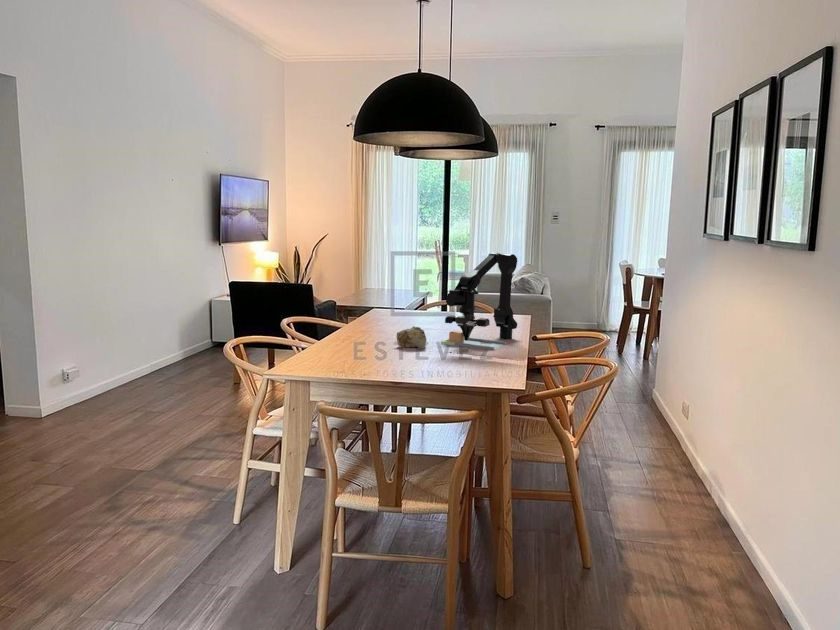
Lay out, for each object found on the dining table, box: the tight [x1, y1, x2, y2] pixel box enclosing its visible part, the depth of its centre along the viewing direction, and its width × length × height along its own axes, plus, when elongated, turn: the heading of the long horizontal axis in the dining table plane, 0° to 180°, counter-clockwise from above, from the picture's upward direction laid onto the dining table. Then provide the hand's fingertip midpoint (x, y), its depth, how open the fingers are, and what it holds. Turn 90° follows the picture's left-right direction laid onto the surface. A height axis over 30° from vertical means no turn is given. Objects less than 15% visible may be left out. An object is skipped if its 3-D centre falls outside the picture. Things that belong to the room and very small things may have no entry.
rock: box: [396, 326, 427, 350], centre depth 268 cm, size 12×7×10 cm, turn 74°
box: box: [440, 336, 506, 351], centre depth 271 cm, size 15×24×3 cm, turn 63°
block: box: [448, 330, 464, 343], centre depth 273 cm, size 5×5×4 cm
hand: (466, 340), depth 272 cm, fingers closed
